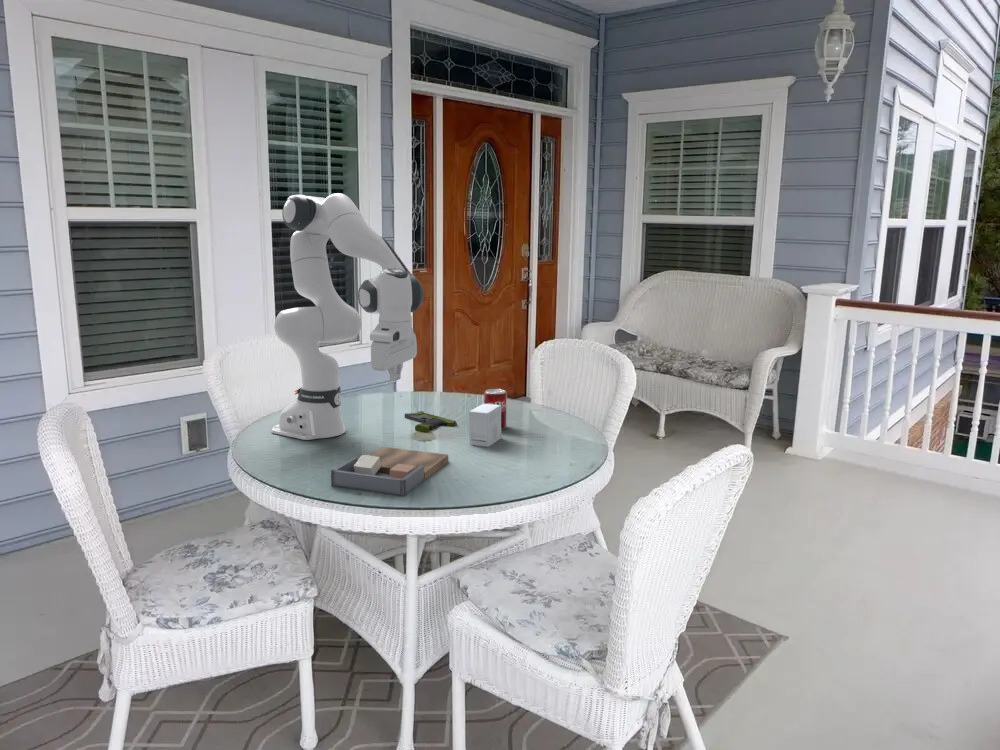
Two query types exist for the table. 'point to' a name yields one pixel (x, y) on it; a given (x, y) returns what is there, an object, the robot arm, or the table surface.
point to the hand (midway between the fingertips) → (395, 380)
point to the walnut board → (409, 459)
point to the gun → (428, 421)
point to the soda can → (497, 402)
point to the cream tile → (367, 465)
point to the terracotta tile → (401, 471)
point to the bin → (375, 480)
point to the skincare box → (485, 425)
